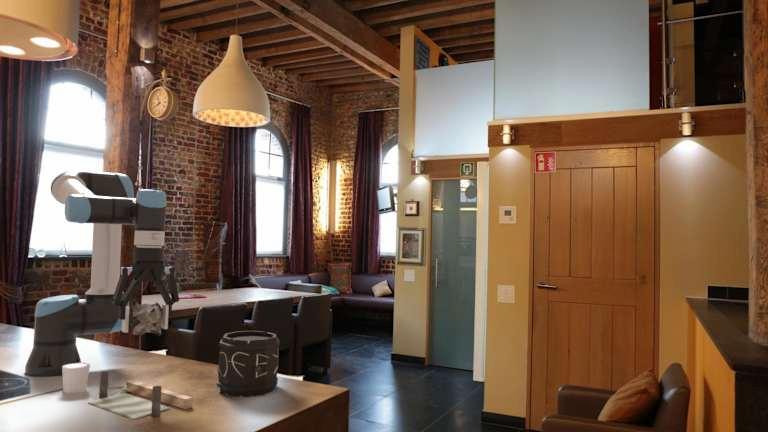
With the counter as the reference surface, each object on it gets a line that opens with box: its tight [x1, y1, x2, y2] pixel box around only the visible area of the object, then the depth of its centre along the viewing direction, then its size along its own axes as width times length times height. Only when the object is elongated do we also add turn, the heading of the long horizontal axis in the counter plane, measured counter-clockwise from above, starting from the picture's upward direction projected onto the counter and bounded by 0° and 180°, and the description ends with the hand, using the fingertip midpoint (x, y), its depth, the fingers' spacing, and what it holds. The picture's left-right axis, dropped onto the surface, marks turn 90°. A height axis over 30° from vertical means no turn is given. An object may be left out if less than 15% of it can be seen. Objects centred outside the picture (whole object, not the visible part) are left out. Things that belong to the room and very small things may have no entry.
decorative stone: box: [129, 299, 163, 337], centre depth 145 cm, size 16×9×10 cm, turn 30°
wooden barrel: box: [216, 330, 280, 398], centre depth 159 cm, size 18×18×16 cm
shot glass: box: [61, 362, 91, 394], centre depth 153 cm, size 7×7×7 cm
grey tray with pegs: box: [87, 370, 193, 420], centre depth 142 cm, size 26×14×7 cm, turn 57°
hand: (145, 330), depth 146 cm, fingers closed on decorative stone, 10 cm apart
